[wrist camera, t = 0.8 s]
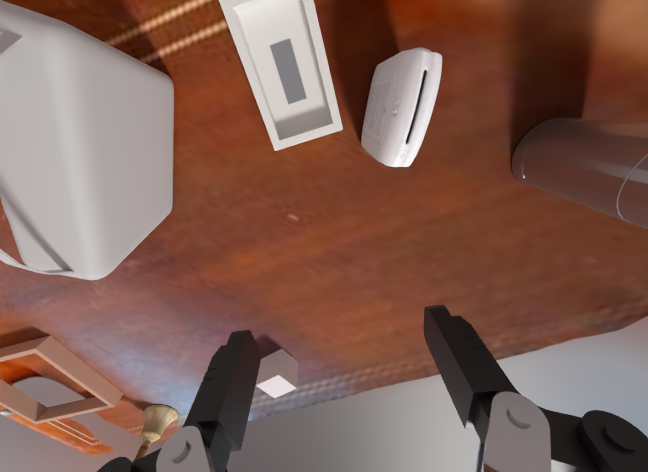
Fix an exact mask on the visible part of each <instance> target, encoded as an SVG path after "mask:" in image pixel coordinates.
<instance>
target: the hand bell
mask: <svg viewBox="0 0 648 472" xmlns="http://www.w3.org/2000/svg"><path fill="white" fill-rule="evenodd" d="M144 415H145V424H144V427H143V430H142V432H141V438H142V439H143V440H144V441H143V444H142V446H141V447H140V449H139V451H138V454H137V456H136V458H135V460H134V461H136V460H138V459H140V458H142V457H144V455H145V453H146V451H147V449H148V448H149V446H150V444H151V442H153V441H156V440H158V439H159V438H160V437H161V435H162V433H163V431H164V430H165V428H166V427H167V426H168V425H169V424H170V423H171V422H172V421H174V420H175V419H176V418H177V417H178V413H177V411H176V410H175V409H173V408H171V407H168V406H165V405H151V406H148V407H147V408H145V410H144ZM134 461H133V462H134Z"/></svg>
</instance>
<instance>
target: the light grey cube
mask: <svg viewBox="0 0 648 472" xmlns="http://www.w3.org/2000/svg"><path fill="white" fill-rule="evenodd" d="M297 374H298V361H296V360H295V359H294V358H293V357H291V356H290V355H289V354H288V353H287V352H285V351H284V350H283V349H280V350H278V351H276V352H274V353H272V354H270V355H268V356H266V357H264V358H262V359H261V363H260V368H259V373H258V378H257V382H256V386H257V387H259V388H260V389H262V390H263V391H265V392H266V393H268V394H269V395H271V396H272V397H274V398H276V397H278V396H281V395H283V394H285V393H287V392H289V391H292V390H294V389H296V388H297Z"/></svg>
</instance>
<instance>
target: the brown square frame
mask: <svg viewBox="0 0 648 472" xmlns="http://www.w3.org/2000/svg"><path fill="white" fill-rule="evenodd" d="M33 353H36V354H37V355H39V356H40V357H42V358H43V359H44V360H46V361H47V362H49V363H50V364H51V365H53V366H54V367H56V368H57V369H58V370H60V371H61V372H62V373H64V374H65V375H67V376H68V377H69V378H71V379H72V380H74V381H75V382H76V383H78V384H79V385H81V386H82V387H83V388H85V389H86V390H87V391H89V392H90V393H92V394H93V395H94V396H96V397H92V398H88V399H84V400H79V401H75V402H71V403H66V404H62V405H57V406H53V407H49V408H47V407H45V406H44V405H42V404H40V403H39V402H37V401H35V400H34V399H32V398H30V397H29V396H27V395H25V394H24V393H22V392H21V391H19V390H17V389H16V388H14V387H12V386H11V385H9V384H8V383H6V382H4V381H3V380H1V379H0V405H1V406H3V407H5V408H7V409H9V410H10V411H12V412H14V413H16V414H18V415H19V416H21V417H23V418H25V419H27V420H28V421H30V422H32V423H34V424H39V423H44V422H48V421H53V420H57V419H62V418H66V417H71V416H75V415H79V414H84V413H89V412H93V411H98V410H102V409H107V408H111V407H115V406H116V404H117V403H118V401H119V400H120V398H121V397H122V395H123V394H124V393H123V392H122V391H120V390H119V389H118V388H117V387H115V386H114V385H113V384H112V383H110V382H109V381H108V380H106V379H105V378H104V377H103V376H101V375H100V374H99V373H98V372H96V371H95V370H94V369H92V368H91V367H90V366H89V365H87V364H86V363H85V362H84V361H82V360H81V359H80V358H79V357H77V356H76V355H75V354H73V353H72V352H71V351H70V350H68V349H67V348H66V347H65V346H63V345H62V344H61V343H59V342H58V341H57V340H56V339H54V338H53V337H52V336H51V335H49V336H46V337H42V338H38V339H34V340H30V341H26V342H23V343H19V344H15V345H11V346H7V347H4V348H0V362H2V361H6V360H9V359H13V358H17V357H21V356H25V355H29V354H33Z"/></svg>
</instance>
